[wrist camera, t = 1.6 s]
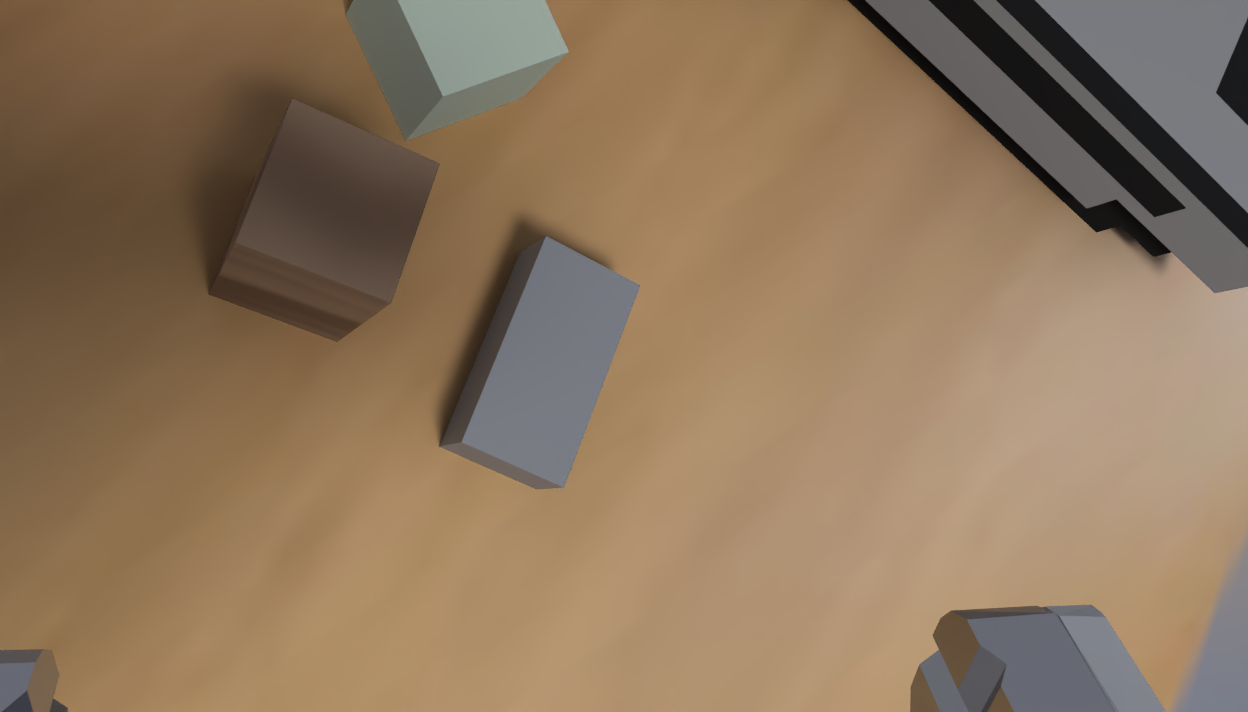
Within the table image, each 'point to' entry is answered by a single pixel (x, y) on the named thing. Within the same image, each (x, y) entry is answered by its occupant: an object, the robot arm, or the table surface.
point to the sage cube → (454, 55)
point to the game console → (1107, 108)
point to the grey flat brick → (541, 366)
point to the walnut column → (325, 225)
